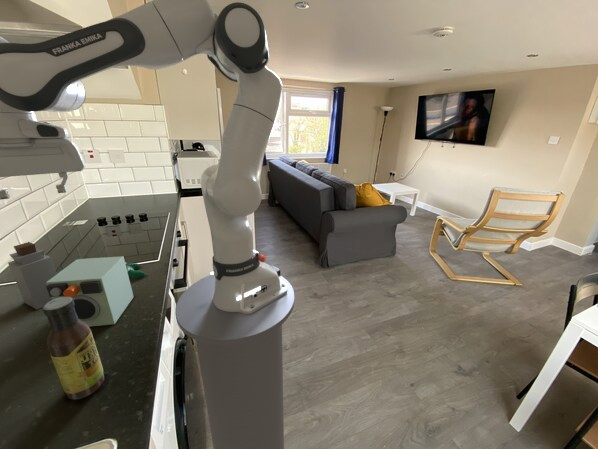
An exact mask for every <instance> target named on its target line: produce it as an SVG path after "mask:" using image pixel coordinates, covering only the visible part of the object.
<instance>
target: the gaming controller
mask: <svg viewBox="0 0 598 449" xmlns="http://www.w3.org/2000/svg"><path fill="white" fill-rule="evenodd" d="M125 264H126V268H127V272H128V276H129V278H142V277H145V276H146V272H145V271H142V270H139V269H140V268H141V264H139V263H135V262H134V263H132V262H131V263H128V262H125Z"/></svg>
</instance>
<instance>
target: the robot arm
mask: <svg viewBox="0 0 598 449" xmlns="http://www.w3.org/2000/svg"><path fill="white" fill-rule="evenodd" d="M202 54H203V55H206V57H207V59H208V61H210V62H211V64H212V65H213V66H214V67H215V68H216V69H217V70H218V71H219V73H220V74H221V75H222V76H224V77H225V78H226V80H229V81H231V82H233V83H237V90H236V94H235V98H234V99H233V102H232V106H231V108H230V112H229V115H228V118H227V121H226V123H225V127H224V129H223V133H222V134H221V151H220V157H219V163H216V164H212V165H210V166H208V167H207V168H206V169H204V170H203V171H202V173H201V176H200V187H201V193H202V198H203V203H204V209H205V213H206V218H207V221H208V225H209V230H210V236H211V246H212V253H213V254H212V258H211V259H212V271H211V272H210V275H212V274H214V276H215V292H214V297H213V303H214V305H215V306H216V307H217V308H218V309H220V310H223V311H227V312H240V313H244V314H252V313H253V312H255V311H257V310H259V309H260V308H262V307H264V306H266V305H267V304H269V303H271V302H273V301H274V300H276V299H278V298H279V297H281V296H283V295H285V294H286V293H287V286H286V284H285V283H284V281H283V280H282V279H281V278H279V277H280V276H281V269H280V268H278V267H276V266H274V265H272V264H268V263H266V261H267V257H266V256H265V255H264V254H263V253H260V252H259V251H258V250H256V249H254V236H253V226H252V223H251V222H250V219H249V216H250V215H252V214H254V213H255V212H256V211H257V210H258V208H259V207H260V205H261V202H262V199H263V192H262V188H261V179H262V170H263V165H264V164H263V163H264V157H265V154H266V150H267V147H268V144H269V141H270V138H271V135H272V133H273V130H274V127H275V124H276V121H277V118H278V115H279V112H280V108H281V103H282V98H283V93H284V86H283V82H282V80H281V79H280V77H279V76H278V75H277V74H276V73H275V72H274V71H273V70H271V69H269V68H268V67H267V65H268V63H269V61H270V54H269V47H268V39H267V32H266V27H265V24H264V21H263V18H262V17H261V15H260V14H259V13H258V11H257V10H256V9H255V8H253V7H252V6H250V5H249V4H247V3H244V2H239V1H238V2H237V1H236V2H232V3H228V5H225V7H223V9H222V10H221V11H220V12H219V14H217V13H216V12H215V10H214V8H213V6H212V5H211V3H210V2H209V1H208V0H151V1H149V2H146V3H143V4H141V5H140V6H137V7H136V8H133V9H131V10H129V11H127V12H125V13H123V14H119V15H117V16H115V17H112V18H110V19H108V20H105V21H101V22H98V23H95V24H91V25H89V26H85V27H81V28H80V29H77V30H74V31H70V32H68V33H65V34H62V35H59V36H56V37H54V38H51V39H47V40H45V41H40V42H35V43H20V42H19V43H18V42H10V41H8V40H7V39H6V38H4V37H2V36H0V178H8V177H9V178H11V177H23V176H24V177H25V176H36V175H49V174H58V177H59V178H60V179H62V180H61V182H60V183H59V184H55V188H56V190H57V194H65V193H68V189H67V187H66V183H67V181H68V179H69V173H75V172H82V171H83V170H85V168H86V165H85V161H84V158H83V156H82V154H81V151H80V149H79V147H78V145H77V144H76V143H75V142H74V140H72V139H71V138H68V137H69V130H68V129H67V128H66V127H64V126H61V125H57V124H52V123H51V122H49V121H48V122H47V121H39V119H38V118H37V115H36V113H35V112H52V113H70V112H73V111H76V110H78V109H79V108H81V107H82V106H83V104H85V101H86V94H87V93H86V88H85V86H84V84H83V82H82V80H85V79H87V78H90V77H92V76H94V75H97V74H99V73H102V72H104V71H107V70H109V69H112V68H117V67H138V68H143V69H148V70H153V71H157V70H162V69H166V68H170V67H173V66H176V65H178V64H180V63H183V62H184V61H186V60H189V59H191V58H193V57H195V56H197V55H202ZM10 198H11V196H10V194H9V190H8V188H7V189H5V188H4V189H1V188H0V200H8V199H10Z"/></svg>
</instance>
